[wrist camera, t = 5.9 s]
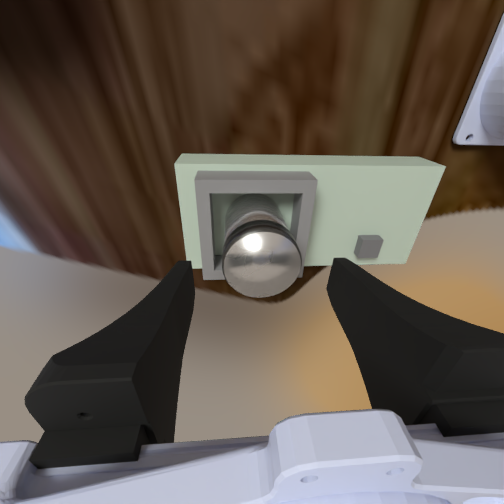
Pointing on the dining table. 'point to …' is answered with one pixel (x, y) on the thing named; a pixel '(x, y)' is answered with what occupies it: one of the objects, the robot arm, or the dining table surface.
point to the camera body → (310, 203)
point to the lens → (258, 247)
